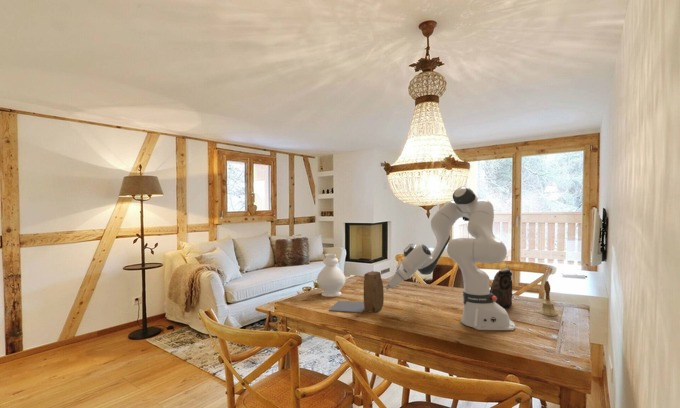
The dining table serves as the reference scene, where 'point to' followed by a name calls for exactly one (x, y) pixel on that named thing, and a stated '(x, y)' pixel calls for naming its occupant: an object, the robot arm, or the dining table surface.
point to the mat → (348, 307)
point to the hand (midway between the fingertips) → (386, 288)
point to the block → (373, 292)
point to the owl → (502, 288)
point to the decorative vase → (331, 277)
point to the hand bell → (548, 303)
